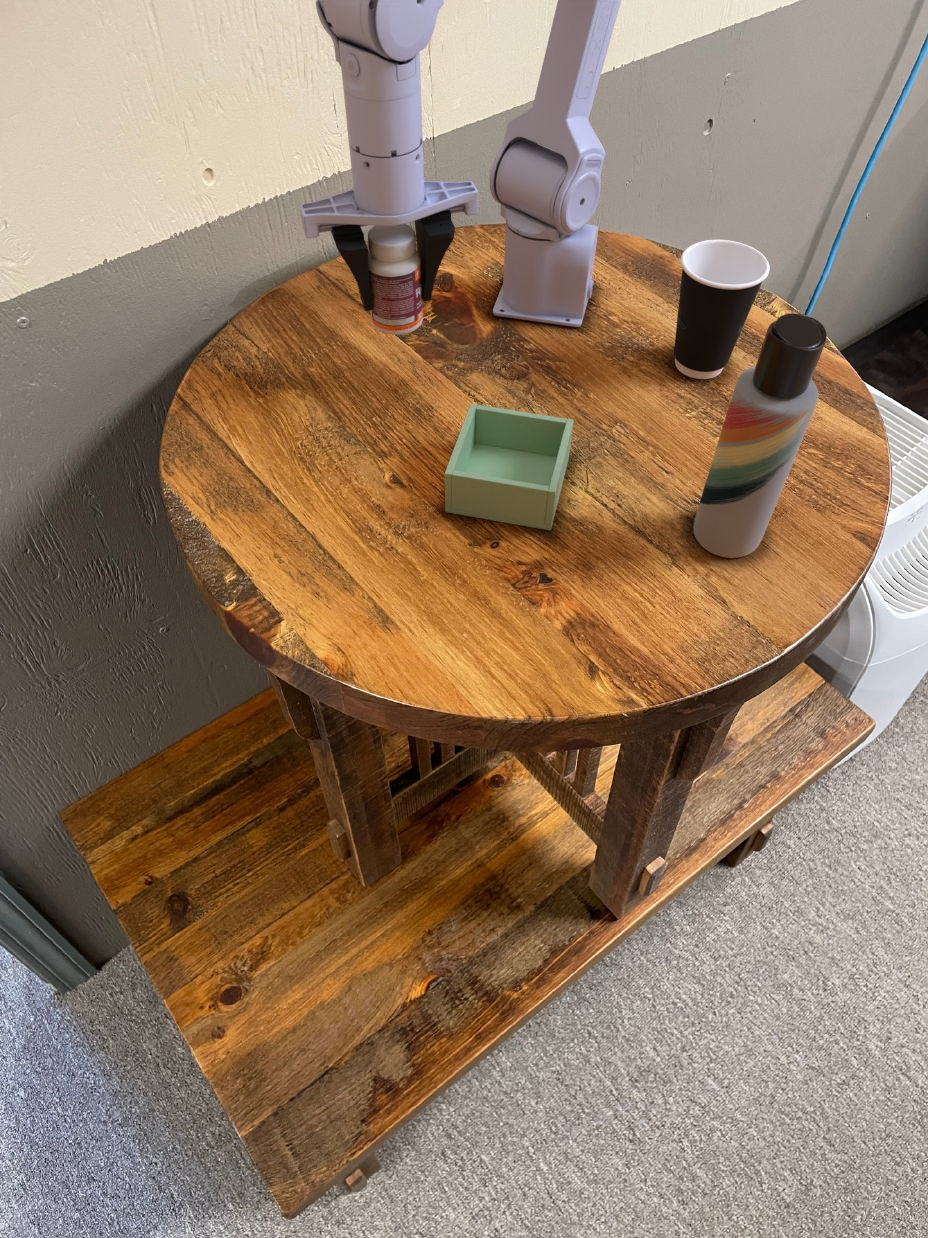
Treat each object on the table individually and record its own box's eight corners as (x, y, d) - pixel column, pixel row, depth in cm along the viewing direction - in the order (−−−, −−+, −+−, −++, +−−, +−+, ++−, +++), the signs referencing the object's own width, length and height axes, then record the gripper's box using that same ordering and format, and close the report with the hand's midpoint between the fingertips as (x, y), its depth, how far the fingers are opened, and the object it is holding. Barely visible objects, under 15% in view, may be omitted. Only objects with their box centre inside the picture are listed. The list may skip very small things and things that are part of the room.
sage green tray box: (568, 458, 78) (573, 419, 75) (550, 530, 73) (555, 492, 69) (470, 442, 80) (470, 403, 76) (445, 512, 74) (444, 473, 70)
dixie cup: (643, 352, 88) (663, 250, 79) (708, 333, 90) (734, 231, 81) (688, 397, 83) (714, 294, 75) (755, 375, 86) (788, 273, 77)
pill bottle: (429, 331, 78) (426, 242, 72) (378, 340, 77) (370, 252, 71) (415, 302, 81) (411, 214, 74) (365, 311, 80) (357, 223, 73)
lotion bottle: (722, 500, 75) (792, 291, 59) (774, 538, 72) (862, 329, 56) (677, 530, 73) (737, 321, 57) (729, 570, 70) (807, 363, 54)
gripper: (462, 107, 70) (462, 264, 81) (284, 129, 68) (308, 287, 79) (487, 146, 66) (483, 305, 77) (298, 171, 64) (322, 331, 74)
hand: (396, 299), depth 77 cm, fingers closed on pill bottle, 5 cm apart
